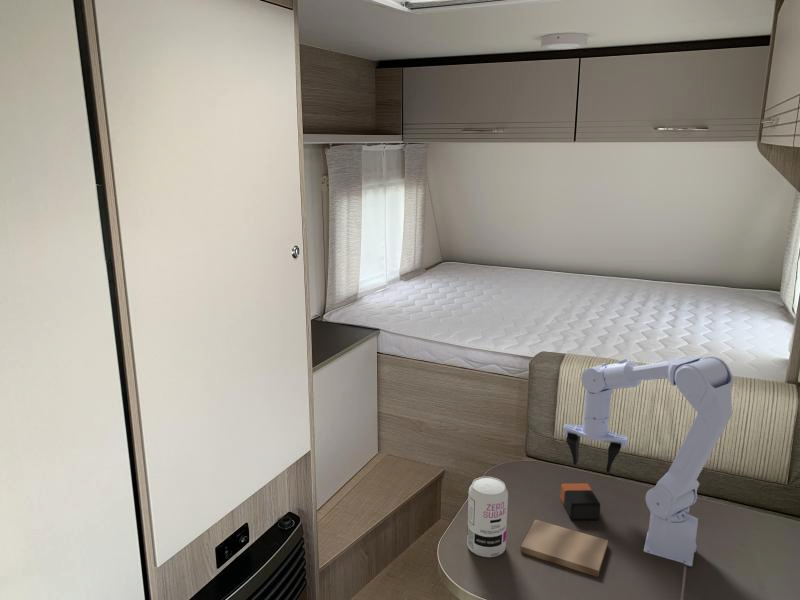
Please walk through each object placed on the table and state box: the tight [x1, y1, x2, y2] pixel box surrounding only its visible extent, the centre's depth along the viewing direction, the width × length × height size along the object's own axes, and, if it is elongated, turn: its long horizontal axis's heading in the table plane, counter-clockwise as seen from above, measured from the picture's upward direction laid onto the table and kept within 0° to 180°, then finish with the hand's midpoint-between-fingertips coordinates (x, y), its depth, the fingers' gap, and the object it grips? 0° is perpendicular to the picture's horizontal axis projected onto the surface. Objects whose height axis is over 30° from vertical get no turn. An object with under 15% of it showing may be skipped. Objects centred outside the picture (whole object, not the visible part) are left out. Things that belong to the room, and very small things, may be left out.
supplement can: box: [466, 476, 509, 558], centre depth 126 cm, size 8×8×15 cm
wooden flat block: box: [520, 519, 609, 578], centre depth 127 cm, size 16×11×2 cm
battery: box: [559, 483, 601, 521], centre depth 141 cm, size 4×7×10 cm
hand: (591, 466), depth 142 cm, fingers open, 7 cm apart
